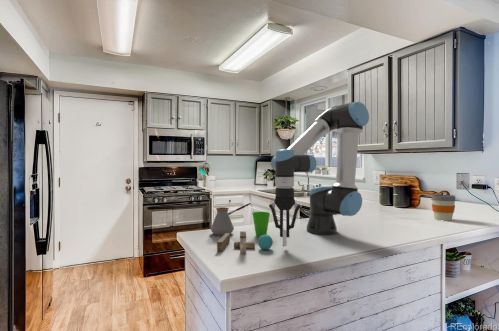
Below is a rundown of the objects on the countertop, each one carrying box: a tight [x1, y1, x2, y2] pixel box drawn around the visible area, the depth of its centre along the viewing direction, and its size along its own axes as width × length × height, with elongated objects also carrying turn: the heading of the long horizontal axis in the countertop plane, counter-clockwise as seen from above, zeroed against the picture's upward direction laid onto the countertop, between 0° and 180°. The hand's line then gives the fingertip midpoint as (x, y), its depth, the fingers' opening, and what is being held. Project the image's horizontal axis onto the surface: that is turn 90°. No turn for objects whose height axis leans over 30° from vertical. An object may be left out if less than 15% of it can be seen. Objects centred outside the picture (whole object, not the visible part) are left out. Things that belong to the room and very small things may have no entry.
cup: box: [251, 210, 271, 237], centre depth 137 cm, size 9×9×11 cm
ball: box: [257, 234, 274, 250], centre depth 115 cm, size 6×6×6 cm
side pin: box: [239, 230, 247, 255], centre depth 110 cm, size 2×2×8 cm
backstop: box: [216, 233, 231, 253], centre depth 119 cm, size 2×14×4 cm, turn 171°
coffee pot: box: [210, 202, 253, 236], centre depth 142 cm, size 21×12×15 cm, turn 108°
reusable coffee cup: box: [430, 193, 457, 222], centre depth 175 cm, size 13×13×15 cm
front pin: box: [233, 241, 256, 249], centre depth 117 cm, size 2×2×8 cm
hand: (284, 245), depth 115 cm, fingers closed
